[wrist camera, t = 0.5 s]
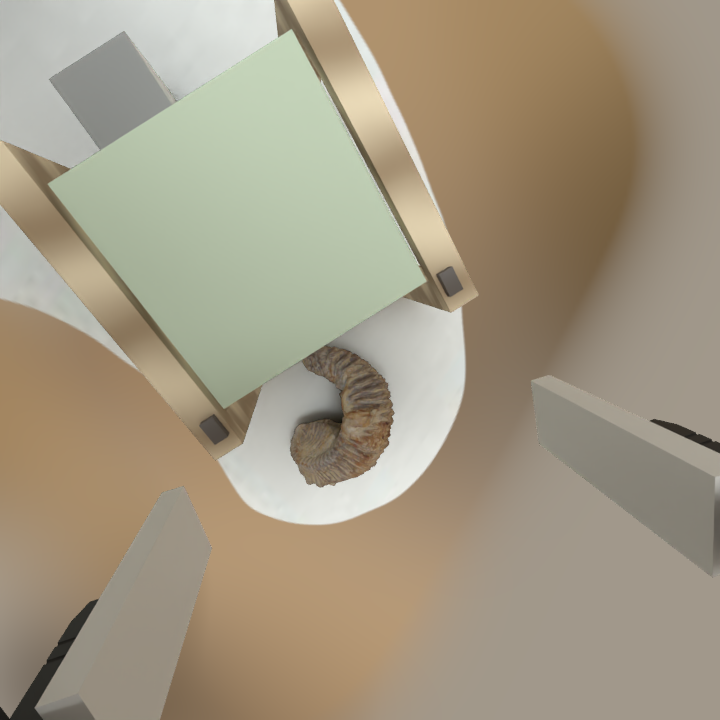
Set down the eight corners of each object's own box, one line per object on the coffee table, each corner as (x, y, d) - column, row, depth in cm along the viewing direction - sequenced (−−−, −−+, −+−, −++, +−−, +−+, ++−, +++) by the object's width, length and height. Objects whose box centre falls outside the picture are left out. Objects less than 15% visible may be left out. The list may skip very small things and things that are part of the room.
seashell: (322, 454, 45) (362, 519, 38) (247, 438, 39) (276, 511, 31) (383, 359, 43) (439, 407, 35) (313, 326, 37) (362, 375, 29)
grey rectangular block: (111, 124, 31) (48, 78, 23) (168, 88, 31) (124, 31, 23) (156, 188, 33) (110, 164, 25) (210, 153, 33) (181, 119, 25)
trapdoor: (88, 197, 22) (47, 183, 18) (293, 66, 22) (291, 28, 18) (234, 389, 26) (223, 408, 22) (410, 279, 26) (426, 281, 22)
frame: (116, 208, 32) (-45, 160, 17) (304, 89, 32) (307, -64, 17) (248, 385, 38) (213, 465, 23) (410, 283, 38) (483, 295, 23)
